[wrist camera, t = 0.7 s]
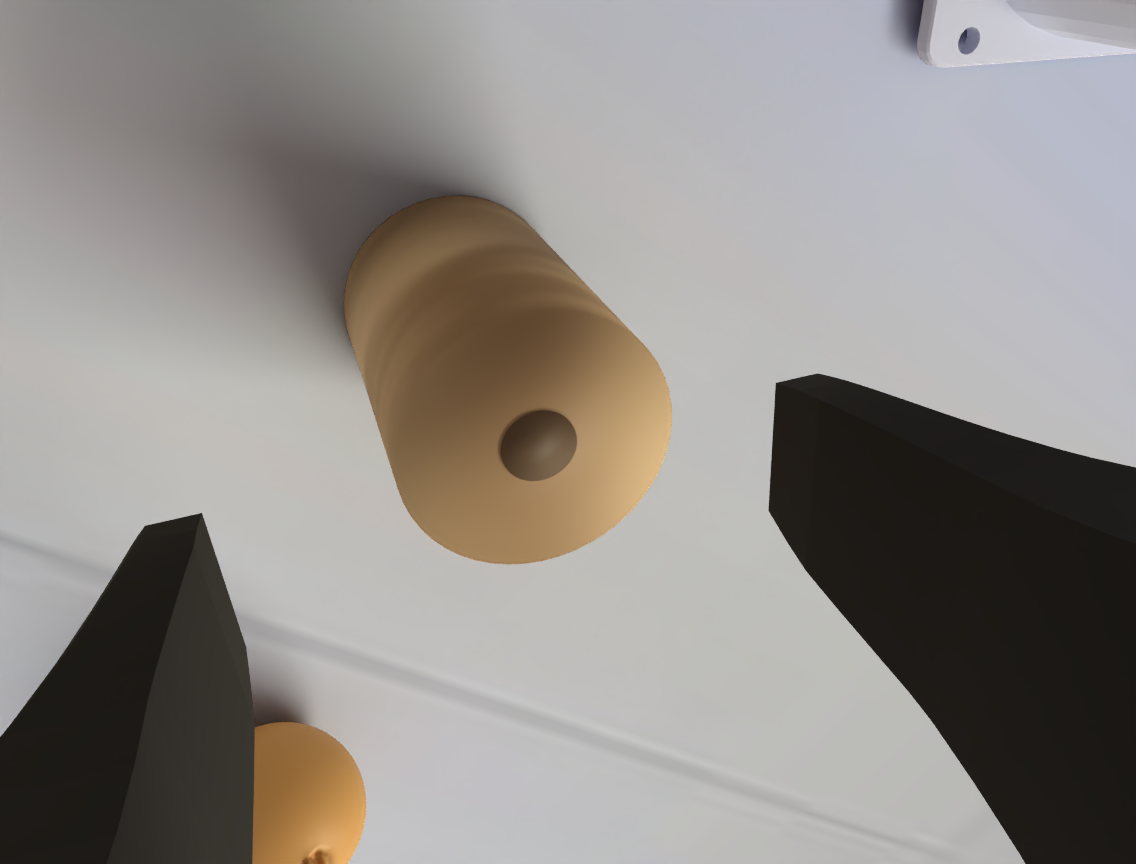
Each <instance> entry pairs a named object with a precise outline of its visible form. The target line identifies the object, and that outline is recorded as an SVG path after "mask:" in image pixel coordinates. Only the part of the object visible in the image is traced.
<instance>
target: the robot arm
mask: <svg viewBox="0 0 1136 864" xmlns="http://www.w3.org/2000/svg"><path fill="white" fill-rule="evenodd" d="M965 29H966V30H967V39H966V42H965V44H964V46H963V47H962V48H961V49H960V50H959V49H958V41H959V38H960V35H961V34H962V33H963V32H964V30H965ZM917 52H918V54H919V57H920V59H921V60H922V61H923V62H924V63H925V64H927V65H932V66H936V67H941V68H945V67H959V66H972V65H986V64H999V63H1013V62H1026V61H1039V60H1053V59H1066V58H1080V57H1093V56H1107V55H1120V54H1134V53H1136V0H924V4H923V10H922V16H921V22H920V28H919V34H918V40H917ZM769 512H770V514H771V515H772V517H773V519H774V520H775V522H776V524H777V526H778V527H779V529H780V531H781V532H782V534H783V536H784V537H785V539H786V541H787V542H788V544H789V545H790V547H791V549H792V550H793V552H794V553H795V555H796V556H797V558H798V559H799V561H800V562H801V564H802V565H803V567H804V568H805V570H806V571H807V572H808V574H809V575H810V576H811V577H812V578H813V580H814V581H815V582H816V583H817V585H818V586H819V587H820V588H821V589H822V591H823V592H824V593H825V594H826V595H827V597H828V598H829V599H830V600H831V601H832V603H833V604H834V605H835V606H836V607H837V608H838V610H839V611H840V612H841V613H842V614H843V616H844V617H845V618H846V619H847V620H848V621H849V623H850V624H851V625H852V626H853V627H854V628H855V630H856V631H857V632H858V633H859V634H860V635H861V637H862V638H863V639H864V640H865V641H866V642H867V644H868V645H869V646H870V647H871V648H872V649H873V651H874V652H875V653H876V654H877V655H878V656H879V658H880V659H881V660H882V661H883V662H884V663H885V665H886V666H887V667H888V668H889V669H890V670H891V672H892V673H893V674H894V675H895V676H896V677H897V679H898V680H899V681H900V682H901V683H902V684H903V686H904V687H905V688H906V689H907V690H908V691H909V693H910V694H911V695H912V696H913V698H914V699H915V700H916V702H917V703H918V704H919V705H920V707H921V708H922V709H923V710H924V712H925V713H926V714H927V716H928V717H929V718H930V719H931V721H932V722H933V724H934V725H935V726H936V728H937V729H938V731H939V732H940V734H941V735H942V737H943V738H944V740H945V741H946V742H947V744H948V745H949V747H950V748H951V750H952V751H953V753H954V754H955V756H956V757H957V759H958V760H959V761H960V763H961V764H962V766H963V767H964V769H965V770H966V772H967V773H968V775H969V776H970V777H971V779H972V780H973V782H974V783H975V785H976V786H977V788H978V790H979V791H980V793H981V794H982V796H983V797H984V799H985V800H986V802H987V804H988V805H989V807H990V808H991V810H992V811H993V813H994V814H995V816H996V818H997V819H998V821H999V822H1000V824H1001V825H1002V827H1003V829H1004V830H1005V832H1006V833H1007V835H1008V836H1009V838H1010V839H1011V841H1012V843H1013V844H1014V846H1015V847H1016V849H1017V850H1018V852H1019V853H1020V855H1021V857H1022V859H1023V860H1024V862H1025V864H1136V468H1135V467H1131V466H1126V465H1122V464H1117V463H1113V462H1108V461H1104V460H1099V459H1095V458H1090V457H1087V456H1083V455H1079V454H1075V453H1071V452H1067V451H1063V450H1060V449H1056V448H1053V447H1049V446H1046V445H1042V444H1039V443H1035V442H1032V441H1029V440H1025V439H1022V438H1018V437H1015V436H1011V435H1008V434H1005V433H1002V432H999V431H995V430H992V429H989V428H986V427H983V426H980V425H977V424H974V423H971V422H967V421H964V420H961V419H958V418H956V417H953V416H950V415H947V414H944V413H941V412H938V411H935V410H932V409H929V408H926V407H923V406H920V405H918V404H915V403H912V402H909V401H906V400H903V399H900V398H897V397H894V396H891V395H889V394H886V393H883V392H880V391H877V390H874V389H871V388H868V387H865V386H861V385H858V384H855V383H852V382H849V381H845V380H842V379H838V378H835V377H830V376H826V375H822V374H814V375H809V376H805V377H800V378H796V379H791V380H787V381H783V382H778V383H776V391H775V409H774V426H773V443H772V461H771V478H770V496H769ZM254 750H255V722H254V712H253V703H252V693H251V684H250V676H249V668H248V659H247V651H246V646H245V643H244V640H243V636H242V633H241V630H240V627H239V624H238V621H237V618H236V615H235V612H234V609H233V606H232V603H231V600H230V597H229V594H228V591H227V588H226V585H225V582H224V579H223V576H222V573H221V570H220V567H219V564H218V561H217V558H216V555H215V552H214V549H213V546H212V543H211V540H210V537H209V534H208V530H207V527H206V524H205V521H204V518H203V515H202V513H200V514H196V515H191V516H187V517H183V518H178V519H174V520H169V521H165V522H161V523H156V524H152V525H147V526H145V527H144V528H143V530H142V531H141V532H140V534H139V535H138V536H137V538H136V540H135V541H134V543H133V544H132V546H131V547H130V549H129V551H128V552H127V554H126V556H125V557H124V559H123V561H122V562H121V564H120V566H119V567H118V569H117V570H116V572H115V574H114V575H113V577H112V579H111V580H110V582H109V584H108V585H107V587H106V588H105V590H104V591H103V593H102V595H101V596H100V598H99V599H98V601H97V603H96V604H95V606H94V607H93V609H92V611H91V612H90V614H89V615H88V617H87V618H86V620H85V621H84V623H83V624H82V626H81V627H80V629H79V630H78V632H77V633H76V635H75V636H74V638H73V639H72V641H71V642H70V644H69V645H68V647H67V648H66V650H65V651H64V653H63V654H62V656H61V657H60V658H59V660H58V661H57V663H56V664H55V666H54V667H53V668H52V670H51V671H50V672H49V674H48V675H47V676H46V678H45V679H44V680H43V682H42V683H41V685H40V686H39V687H38V689H37V690H36V691H35V693H34V694H33V695H32V697H31V698H30V699H29V701H28V702H27V703H26V705H25V706H24V707H23V709H22V710H21V711H20V713H19V714H18V715H17V717H16V718H15V719H14V721H13V722H12V723H11V725H10V726H9V727H8V728H7V730H6V731H5V732H4V733H3V735H2V736H1V737H0V864H252V855H253V807H254Z"/></svg>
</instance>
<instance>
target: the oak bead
mask: <svg viewBox="0 0 1136 864" xmlns="http://www.w3.org/2000/svg"><path fill="white" fill-rule="evenodd" d="M344 316H345V321H346V326H347V330H348V334H349V337H350V340H351V343H352V346H353V349H354V352H355V356H356V359H357V362H358V365H359V368H360V371H361V374H362V378H363V381H364V384H365V387H366V390H367V393H368V396H369V400H370V403H371V406H372V409H373V412H374V415H375V418H376V421H377V425H378V428H379V431H380V434H381V437H382V440H383V443H384V447H385V450H386V453H387V456H388V459H389V462H390V465H391V469H392V472H393V475H394V478H395V481H396V484H397V487H398V490H399V493H400V495H401V498H402V501H403V503H404V505H405V507H406V508H407V510H408V512H409V514H410V515H411V517H412V518H413V520H414V521H415V522H416V523H417V524H418V526H419V527H420V528H421V529H422V530H423V531H424V532H425V533H426V534H427V535H428V536H429V537H431V538H432V539H433V540H434V541H436V542H437V543H439V544H440V545H442V546H443V547H445V548H446V549H448V550H451V551H453V552H455V553H457V554H459V555H461V556H464V557H468V558H471V559H474V560H478V561H483V562H488V563H497V564H524V563H531V562H538V561H543V560H547V559H551V558H554V557H558V556H561V555H564V554H566V553H569V552H572V551H574V550H576V549H578V548H580V547H582V546H584V545H586V544H588V543H590V542H592V541H594V540H595V539H597V538H598V537H600V536H602V535H603V534H605V533H606V532H607V531H609V530H610V529H611V528H613V527H614V526H615V525H616V524H618V523H619V522H620V521H621V520H622V519H623V518H624V517H625V516H626V515H627V514H628V513H629V512H631V511H632V509H633V508H634V507H635V506H636V505H637V504H638V502H639V501H640V500H641V499H642V498H643V496H644V495H645V493H646V492H647V490H648V489H649V487H650V486H651V485H652V483H653V481H654V479H655V477H656V475H657V474H658V472H659V470H660V468H661V465H662V462H663V460H664V457H665V455H666V451H667V448H668V444H669V440H670V434H671V425H672V405H671V399H670V393H669V389H668V386H667V383H666V380H665V376H664V374H663V372H662V370H661V368H660V366H659V364H658V362H657V361H656V360H655V358H654V357H653V355H652V354H651V353H650V351H649V350H648V349H647V348H646V347H645V346H644V344H643V343H642V342H641V341H640V340H639V339H638V338H637V337H636V336H635V335H634V334H633V333H632V332H631V331H630V330H629V329H628V328H627V327H626V326H625V325H624V324H623V322H622V321H621V320H620V319H619V318H618V317H617V316H616V315H615V314H614V313H613V312H612V311H611V310H610V309H609V308H608V307H607V306H606V305H605V304H604V303H603V302H602V301H601V299H600V298H599V297H598V296H597V295H596V294H595V293H594V292H593V291H592V290H591V289H590V288H589V287H588V286H587V285H586V284H585V283H584V282H583V281H582V280H581V279H580V277H579V276H578V275H577V274H576V273H575V272H574V271H573V270H572V269H571V268H570V267H569V266H568V265H567V264H566V263H565V262H564V261H563V260H562V259H561V258H560V257H559V256H558V254H557V253H556V252H555V251H554V250H553V249H552V248H551V247H550V246H549V245H548V244H547V243H546V242H545V241H544V240H543V239H542V238H541V237H540V236H539V235H538V234H537V232H536V231H535V230H534V229H533V228H532V227H531V226H530V225H529V224H528V223H527V222H526V221H525V220H524V219H522V218H521V217H520V216H518V215H517V214H516V213H514V212H513V211H511V210H509V209H507V208H506V207H504V206H502V205H500V204H497V203H495V202H492V201H489V200H486V199H481V198H477V197H471V196H461V195H459V196H442V197H436V198H431V199H427V200H424V201H421V202H418V203H415V204H413V205H411V206H408V207H406V208H404V209H402V210H400V211H399V212H397V213H396V214H394V215H392V216H391V217H389V218H388V219H387V220H386V221H385V222H383V223H382V224H381V225H380V226H378V227H377V229H376V230H375V231H374V232H373V233H372V234H371V235H370V236H369V237H368V238H367V240H366V241H365V242H364V244H363V245H362V247H361V248H360V249H359V251H358V253H357V255H356V257H355V259H354V261H353V263H352V265H351V268H350V271H349V274H348V277H347V281H346V286H345V292H344Z"/></svg>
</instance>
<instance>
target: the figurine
mask: <svg viewBox="0 0 1136 864" xmlns="http://www.w3.org/2000/svg"><path fill="white" fill-rule="evenodd" d="M365 815H366V796H365V788H364V784H363V780H362V777H361V774H360V771H359V769H358V767H357V765H356V763H355V761H354V759H353V758H352V756H351V755H350V754H349V752H348V751H347V750H346V749H345V747H344V746H343V745H342V744H341V743H340V742H338V741H337V740H336V739H335V738H333V737H332V736H331V735H329V734H327V733H326V732H324V731H322V730H320V729H318V728H315V727H313V726H309V725H306V724H301V723H295V722H276V723H269V724H264V725H261V726H257V727H255V750H254V807H253V855H252V864H347V863H348V862H349V860H350V859H351V857H352V855H353V853H354V852H355V850H356V847H357V845H358V843H359V840H360V837H361V834H362V831H363V827H364V822H365Z"/></svg>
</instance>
